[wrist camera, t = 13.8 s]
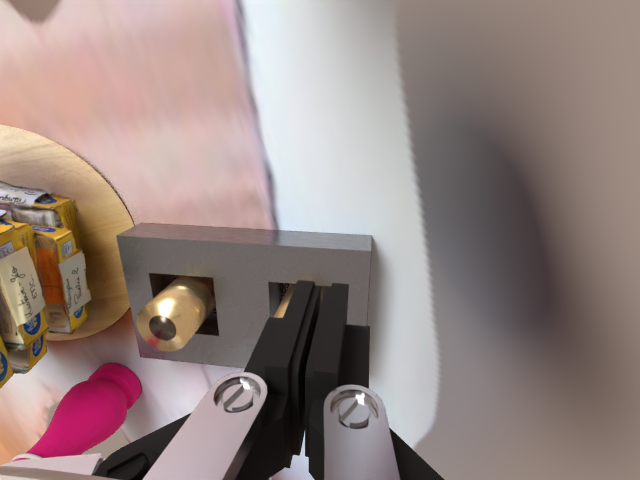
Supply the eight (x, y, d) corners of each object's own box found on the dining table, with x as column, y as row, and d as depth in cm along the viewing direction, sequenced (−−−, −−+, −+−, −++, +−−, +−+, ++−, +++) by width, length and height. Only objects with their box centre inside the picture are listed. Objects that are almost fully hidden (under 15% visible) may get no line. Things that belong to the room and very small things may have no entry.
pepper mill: (156, 391, 46) (9, 583, 28) (121, 412, 48) (-36, 602, 30) (116, 350, 45) (-66, 524, 26) (82, 374, 47) (-109, 549, 28)
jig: (141, 222, 38) (84, 251, 31) (371, 235, 35) (370, 270, 27) (160, 335, 43) (115, 383, 35) (364, 355, 40) (361, 412, 32)
